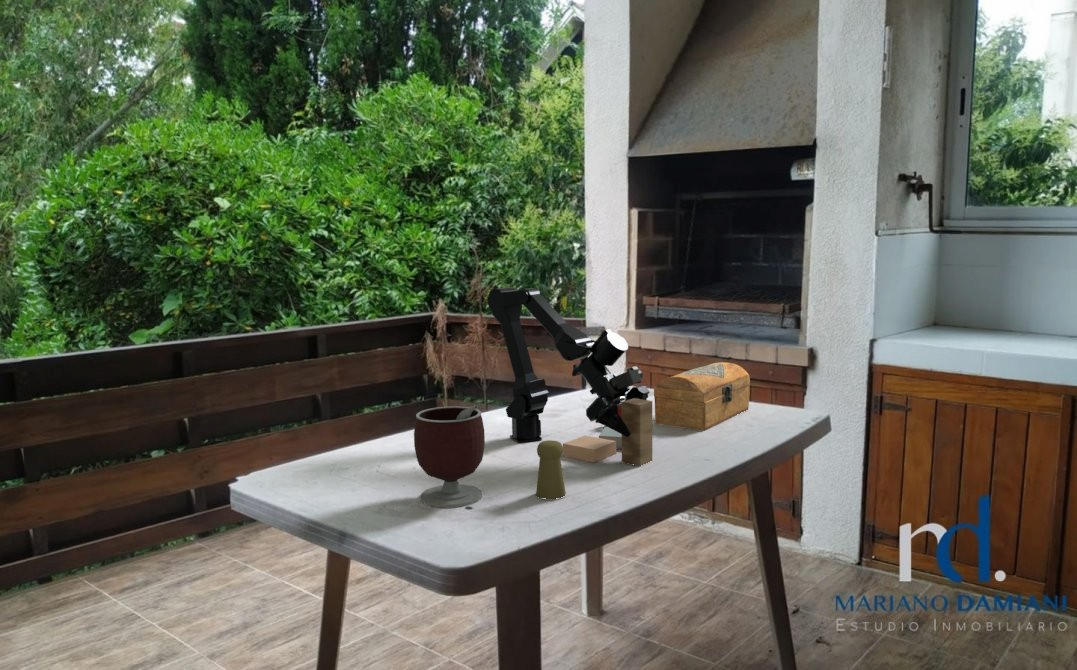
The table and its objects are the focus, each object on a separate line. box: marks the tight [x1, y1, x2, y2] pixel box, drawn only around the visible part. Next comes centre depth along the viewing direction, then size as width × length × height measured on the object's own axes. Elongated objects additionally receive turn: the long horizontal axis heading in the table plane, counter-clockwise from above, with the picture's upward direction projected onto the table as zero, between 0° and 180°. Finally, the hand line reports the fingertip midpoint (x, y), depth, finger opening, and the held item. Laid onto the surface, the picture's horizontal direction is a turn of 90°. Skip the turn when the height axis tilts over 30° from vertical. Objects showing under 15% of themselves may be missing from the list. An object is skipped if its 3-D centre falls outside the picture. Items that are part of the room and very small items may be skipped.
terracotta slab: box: [562, 435, 617, 463], centre depth 185 cm, size 9×9×3 cm
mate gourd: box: [413, 404, 486, 509], centre depth 155 cm, size 16×14×20 cm
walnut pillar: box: [621, 398, 653, 467], centre depth 178 cm, size 5×5×14 cm
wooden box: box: [653, 361, 751, 432], centre depth 220 cm, size 30×16×14 cm, turn 141°
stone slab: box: [598, 426, 622, 450], centre depth 193 cm, size 9×9×3 cm
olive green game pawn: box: [535, 439, 567, 499], centre depth 156 cm, size 6×6×11 cm
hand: (640, 431), depth 177 cm, fingers open, 9 cm apart
